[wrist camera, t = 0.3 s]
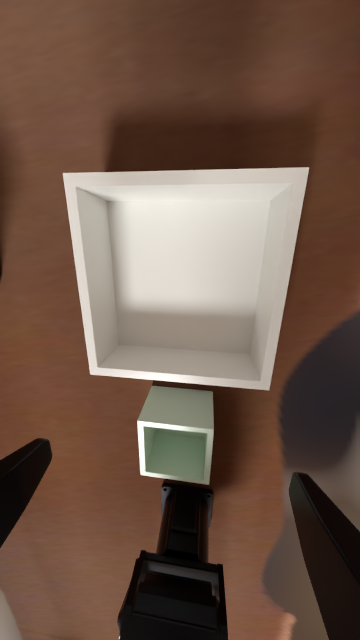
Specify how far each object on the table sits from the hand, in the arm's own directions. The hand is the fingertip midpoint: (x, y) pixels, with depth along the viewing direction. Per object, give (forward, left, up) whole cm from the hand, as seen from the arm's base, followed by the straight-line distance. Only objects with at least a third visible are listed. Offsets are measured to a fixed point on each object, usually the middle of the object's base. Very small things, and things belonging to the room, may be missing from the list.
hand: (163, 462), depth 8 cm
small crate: (-10, +1, -13) cm, 17 cm away
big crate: (+5, +1, -13) cm, 14 cm away
